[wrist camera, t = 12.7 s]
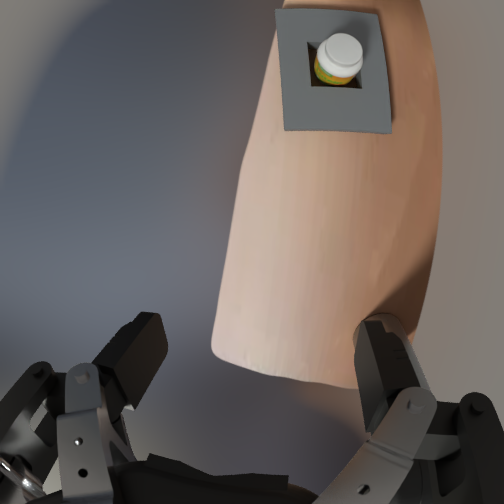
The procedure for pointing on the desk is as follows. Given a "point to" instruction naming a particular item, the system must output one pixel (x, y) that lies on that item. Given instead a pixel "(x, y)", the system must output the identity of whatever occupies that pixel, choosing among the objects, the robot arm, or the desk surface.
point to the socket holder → (332, 98)
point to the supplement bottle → (338, 60)
